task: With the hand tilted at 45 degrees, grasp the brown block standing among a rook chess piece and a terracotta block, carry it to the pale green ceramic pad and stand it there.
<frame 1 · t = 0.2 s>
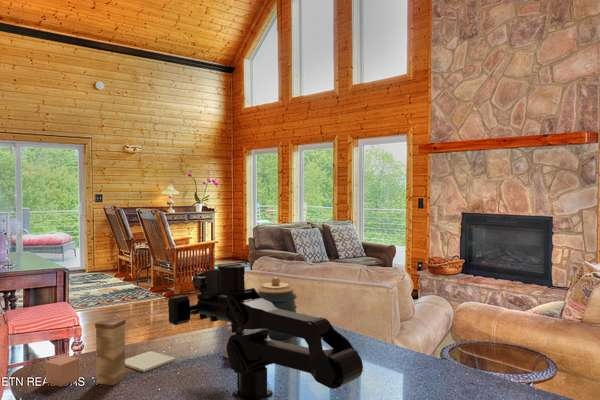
hand: (184, 300, 125), 17 cm above the kitchen counter, tool horizontal, fingers open, 9 cm apart
canister: (275, 334, 153), on the kitchen counter
terracotta block: (62, 381, 116), on the kitchen counter
rook chess piece: (231, 356, 133), on the kitchen counter
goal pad: (147, 362, 128), on the kitchen counter
brown block: (111, 380, 116), on the kitchen counter
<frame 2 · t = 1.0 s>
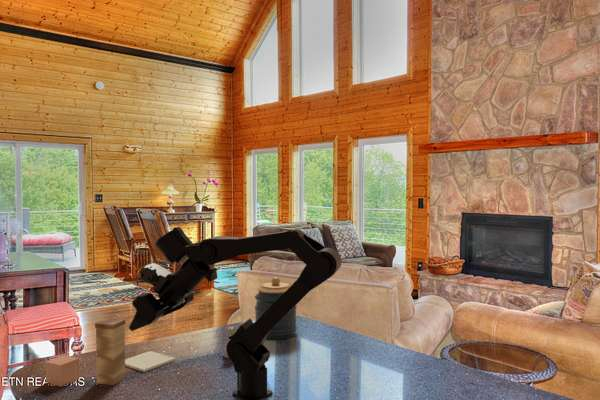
hand: (141, 323, 114), 14 cm above the kitchen counter, tool tilted 45°, fingers open, 9 cm apart
nothing on the kitchen counter moved.
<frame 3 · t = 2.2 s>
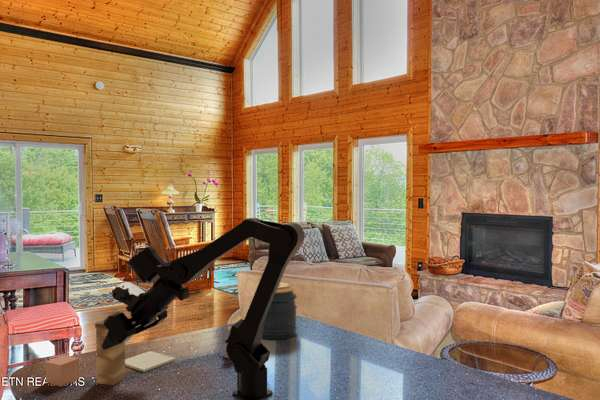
hand: (115, 341, 116), 9 cm above the kitchen counter, tool tilted 45°, fingers open, 9 cm apart
nothing on the kitchen counter moved.
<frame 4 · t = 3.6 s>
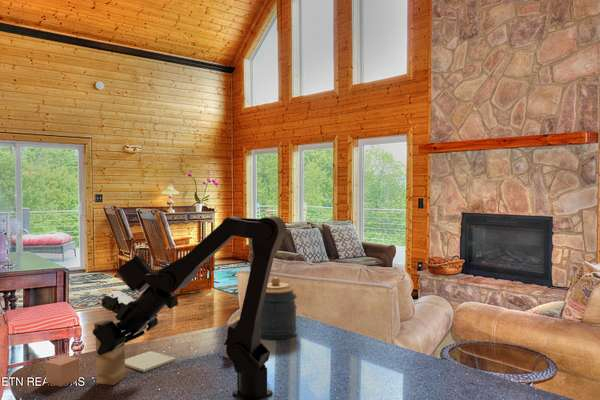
hand: (105, 350, 116), 7 cm above the kitchen counter, tool tilted 45°, fingers closed on brown block, 5 cm apart
brown block: (111, 380, 116), on the kitchen counter, touching gripper
everything else where it was.
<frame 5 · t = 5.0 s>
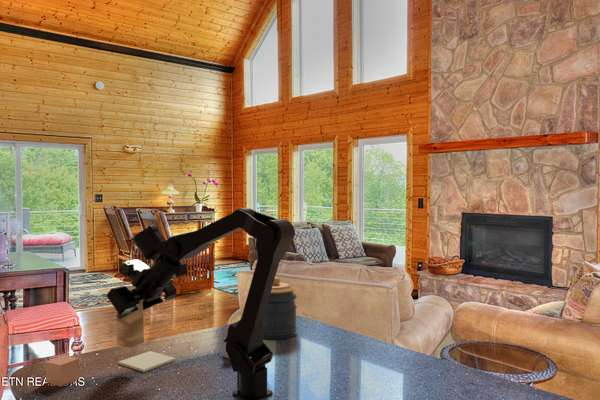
hand: (126, 315, 123), 13 cm above the kitchen counter, tool tilted 45°, fingers closed on brown block, 4 cm apart
brown block: (130, 343, 123), point 6 cm above the kitchen counter, touching gripper
everything else where it was.
when the fingers open (9 cm above the kitchen counter, at t = 6.5 s): brown block drops 1 cm, resting on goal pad.
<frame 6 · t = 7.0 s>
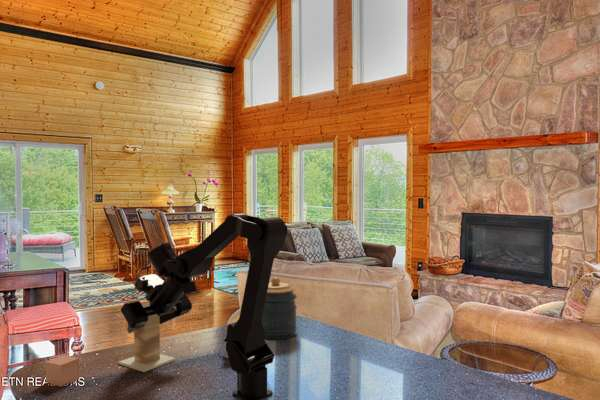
hand: (143, 327, 129), 9 cm above the kitchen counter, tool tilted 45°, fingers open, 9 cm apart
brown block: (147, 359, 128), point 1 cm above the kitchen counter, touching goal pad
everything else where it was.
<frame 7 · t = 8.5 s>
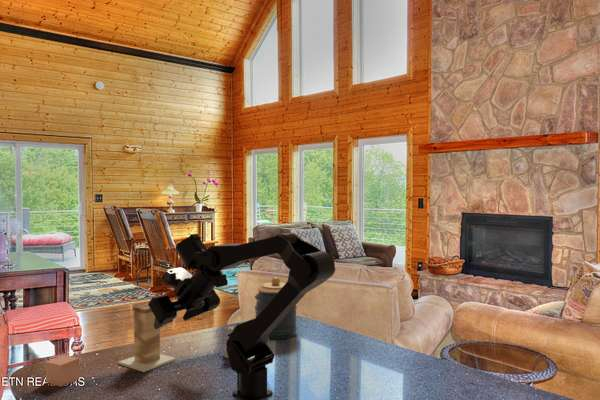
hand: (170, 323, 123), 12 cm above the kitchen counter, tool tilted 45°, fingers open, 9 cm apart
nothing on the kitchen counter moved.
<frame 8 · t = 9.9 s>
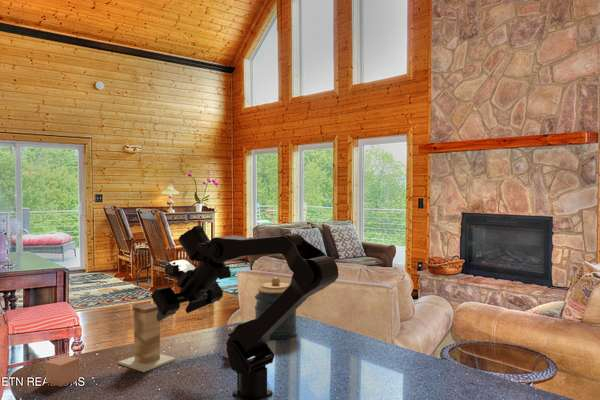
hand: (172, 315, 122), 14 cm above the kitchen counter, tool tilted 45°, fingers open, 9 cm apart
nothing on the kitchen counter moved.
at the end: brown block inside the target area on the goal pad (0.1 cm from its centre), point 0.6 cm above the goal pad's base; brown block tilted 0°; the gripper is holding nothing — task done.
